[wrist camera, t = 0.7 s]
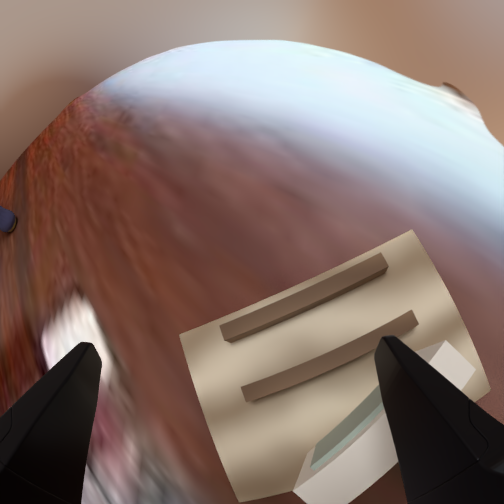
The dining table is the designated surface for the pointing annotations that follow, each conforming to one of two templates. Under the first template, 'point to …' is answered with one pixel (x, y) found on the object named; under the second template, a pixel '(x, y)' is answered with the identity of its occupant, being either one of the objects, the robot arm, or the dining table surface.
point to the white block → (366, 440)
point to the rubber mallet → (7, 220)
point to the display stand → (315, 359)
